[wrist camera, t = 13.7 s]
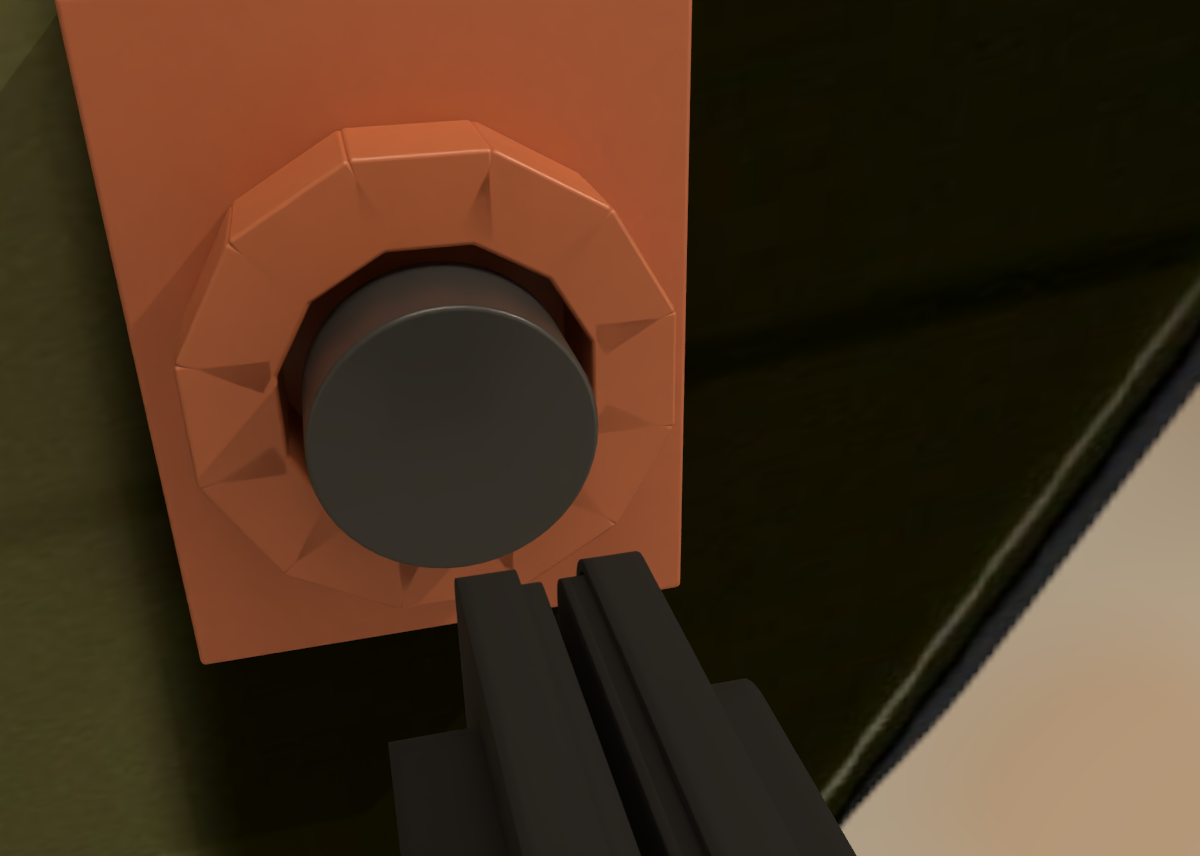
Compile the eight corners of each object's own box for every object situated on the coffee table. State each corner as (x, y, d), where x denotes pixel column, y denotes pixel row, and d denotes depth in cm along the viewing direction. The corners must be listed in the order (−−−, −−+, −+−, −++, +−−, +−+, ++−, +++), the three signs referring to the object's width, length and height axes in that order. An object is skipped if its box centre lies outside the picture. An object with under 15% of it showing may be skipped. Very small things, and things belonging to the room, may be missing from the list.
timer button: (282, 273, 14) (283, 323, 12) (565, 247, 15) (597, 291, 13) (319, 520, 16) (324, 591, 14) (571, 484, 16) (602, 547, 15)
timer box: (79, -22, 15) (22, 13, 12) (647, -43, 17) (743, -18, 13) (208, 589, 20) (193, 744, 16) (645, 523, 21) (716, 650, 18)
